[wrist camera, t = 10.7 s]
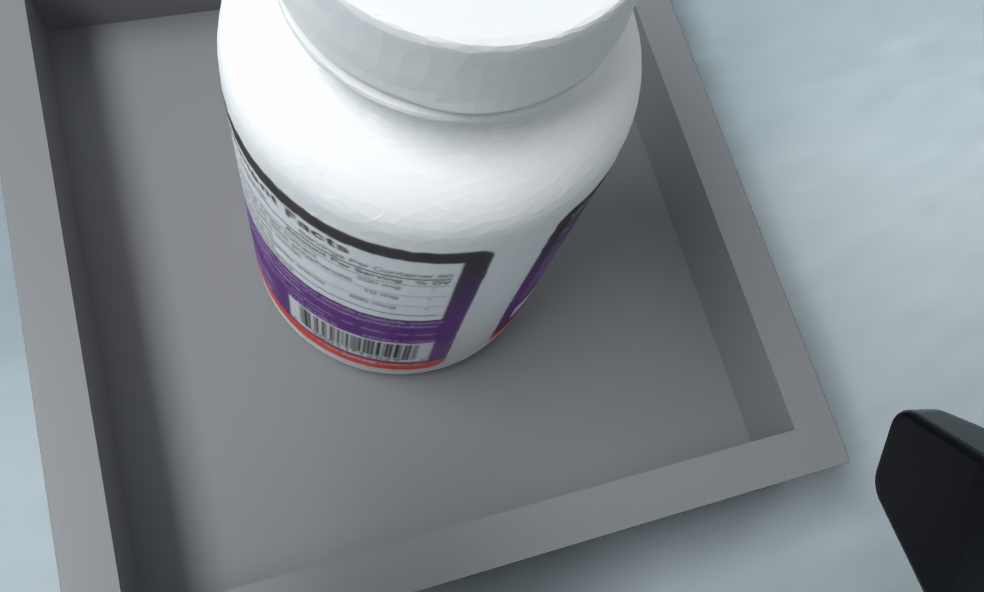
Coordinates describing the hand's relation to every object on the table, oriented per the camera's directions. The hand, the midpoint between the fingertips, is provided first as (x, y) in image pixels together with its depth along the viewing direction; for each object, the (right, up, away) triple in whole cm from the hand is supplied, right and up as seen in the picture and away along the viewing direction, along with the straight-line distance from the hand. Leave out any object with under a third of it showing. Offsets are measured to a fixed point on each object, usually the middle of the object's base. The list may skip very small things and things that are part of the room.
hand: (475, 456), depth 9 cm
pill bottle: (-2, +2, +9) cm, 10 cm away
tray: (-2, +2, +10) cm, 10 cm away
